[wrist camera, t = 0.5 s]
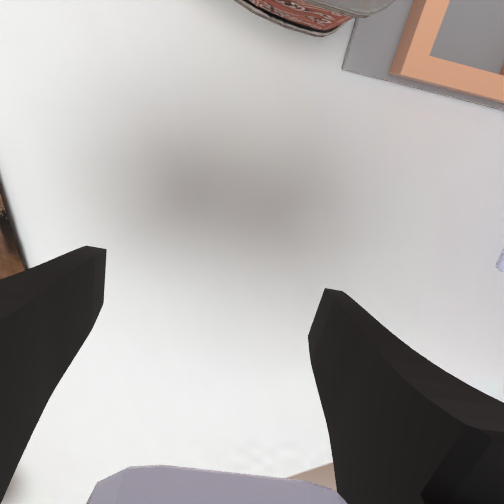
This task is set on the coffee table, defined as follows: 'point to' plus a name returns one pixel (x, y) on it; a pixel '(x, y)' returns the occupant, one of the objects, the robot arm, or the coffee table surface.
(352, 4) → the lighter
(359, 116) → the coffee table surface
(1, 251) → the wooden fragment
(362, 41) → the holder
